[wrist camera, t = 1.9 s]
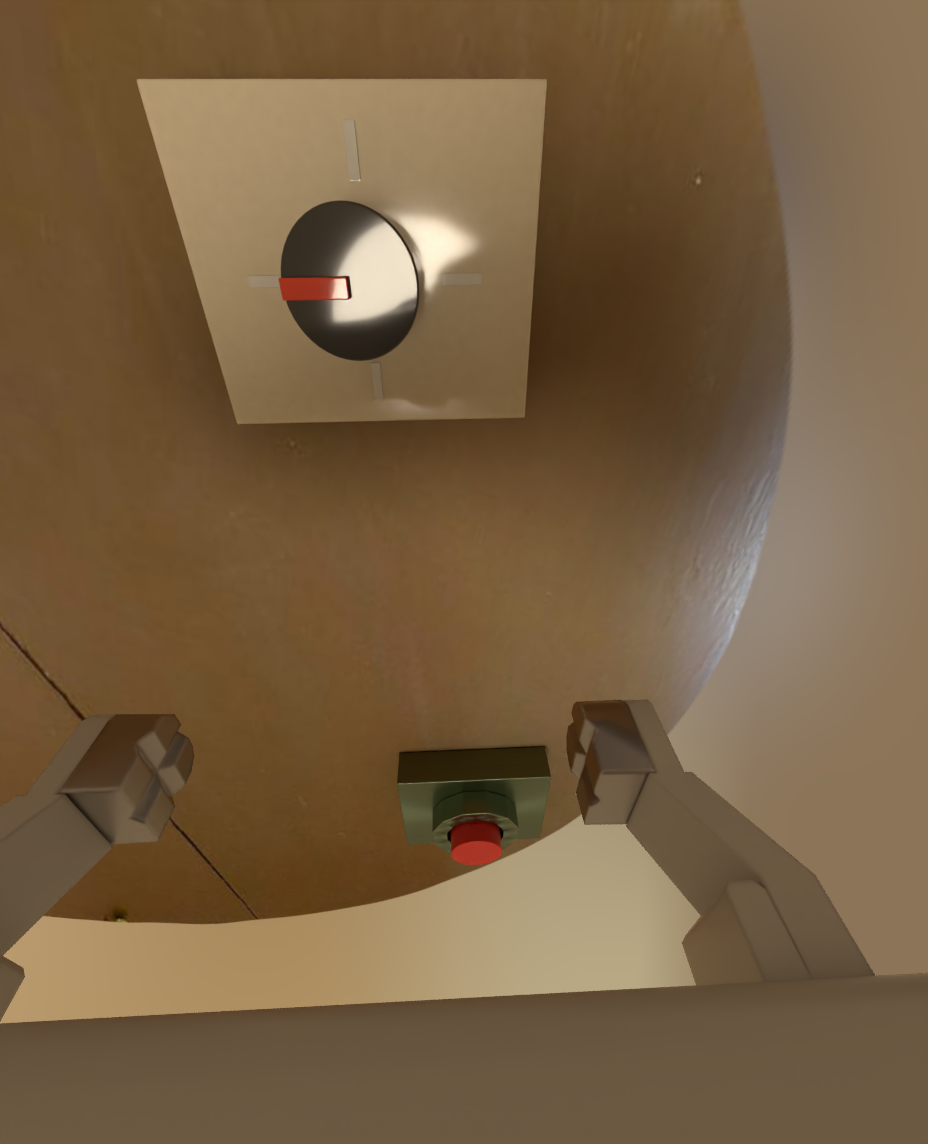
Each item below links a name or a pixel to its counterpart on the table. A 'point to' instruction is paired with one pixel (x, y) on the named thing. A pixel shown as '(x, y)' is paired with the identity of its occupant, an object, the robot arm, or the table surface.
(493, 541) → the table surface
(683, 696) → the table surface
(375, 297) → the hob knob
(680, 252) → the table surface
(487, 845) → the red push button
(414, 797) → the button box
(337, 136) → the hob panel
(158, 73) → the table surface
